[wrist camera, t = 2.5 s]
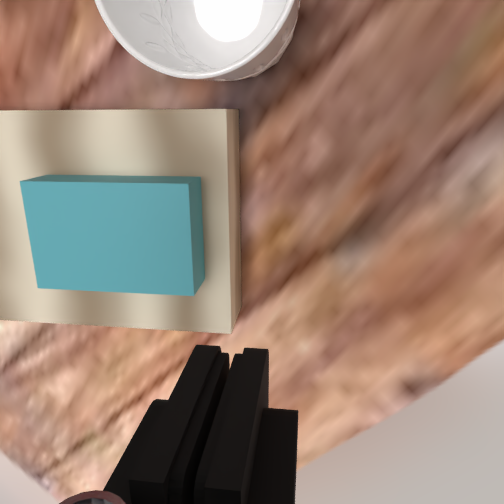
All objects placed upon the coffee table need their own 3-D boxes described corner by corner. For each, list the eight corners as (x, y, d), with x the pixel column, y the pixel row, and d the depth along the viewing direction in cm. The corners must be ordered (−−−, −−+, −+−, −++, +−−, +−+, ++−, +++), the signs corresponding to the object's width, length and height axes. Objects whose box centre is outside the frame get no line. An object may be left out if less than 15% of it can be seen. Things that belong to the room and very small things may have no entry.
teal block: (200, 176, 24) (188, 183, 21) (204, 279, 26) (193, 296, 23) (47, 174, 25) (19, 181, 23) (62, 272, 27) (37, 288, 24)
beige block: (238, 109, 26) (226, 109, 23) (241, 306, 30) (231, 333, 26) (-32, 111, 29) (-85, 111, 25) (4, 293, 33) (-37, 317, 29)
